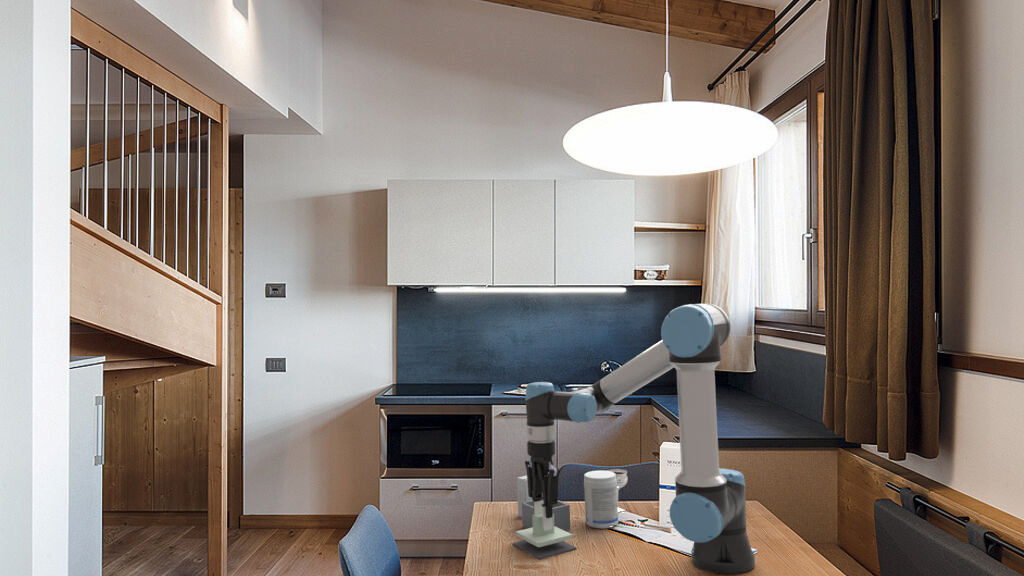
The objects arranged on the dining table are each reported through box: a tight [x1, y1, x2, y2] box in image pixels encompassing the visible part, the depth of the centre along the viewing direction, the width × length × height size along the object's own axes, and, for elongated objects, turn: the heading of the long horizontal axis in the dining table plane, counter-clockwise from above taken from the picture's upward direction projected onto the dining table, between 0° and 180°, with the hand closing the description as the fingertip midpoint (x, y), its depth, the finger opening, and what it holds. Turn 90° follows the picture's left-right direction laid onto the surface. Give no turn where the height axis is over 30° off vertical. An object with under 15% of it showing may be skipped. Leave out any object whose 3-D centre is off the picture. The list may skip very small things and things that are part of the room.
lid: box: [515, 513, 573, 547], centre depth 186 cm, size 11×11×7 cm
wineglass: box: [606, 468, 629, 512], centre depth 215 cm, size 7×7×12 cm
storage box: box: [521, 499, 571, 531], centre depth 201 cm, size 10×10×7 cm
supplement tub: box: [583, 470, 619, 530], centre depth 202 cm, size 10×10×15 cm
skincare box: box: [516, 474, 533, 518], centre depth 212 cm, size 6×4×12 cm
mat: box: [512, 539, 577, 560], centre depth 186 cm, size 13×12×1 cm
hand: (543, 527), depth 186 cm, fingers closed on lid, 3 cm apart
